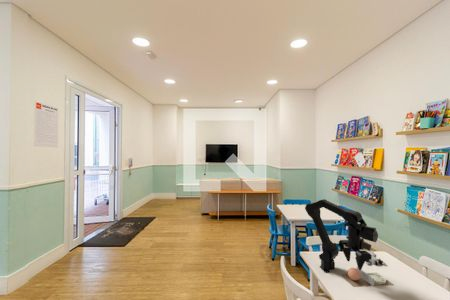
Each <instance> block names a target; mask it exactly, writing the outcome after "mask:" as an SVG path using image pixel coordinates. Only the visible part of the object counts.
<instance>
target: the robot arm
mask: <svg viewBox="0 0 450 300" xmlns="http://www.w3.org/2000/svg"><path fill="white" fill-rule="evenodd" d="M323 208H324V209H325V210H328V211H330V212H332V213H334V214H337V215H338V216H340V217H342V219H344V221H346V223H344V224H343V225H344V226H345V227H347V230H348V231H347V235H346V239H340V240H339V241H338V245H339V247H340V248H341V250H342V252H343V254H344V257H345V259H346V261H347V262H350V261H351V254H352V253H351V251H352V252H354V251H355V252H356V253H355V252H354V254H355V262H356V265H357V266H356V267H358V269H359V270H363V269H362V268H363V266H364V265H365V264H366V260H371V259H372V255H371V254H370V253H368V252H367V251H360V250H368V251H371V249H372V244H370V243H368V242H367V241H369V242H372V243H377V241H378V239H379V233H378V231H377V228H376V227H374V226H373V227H371V226H368V225H367V223H366V221H365V220H364V218H363V216H362V214H361V213H360V212H359V211H357V210H353V209H347V208H344V207H343V206H339V205H337V204H335V203H333V202H331V201H329V200H327V199H320V200H318V201H315V202H311V203H306V205H305V207H304V209H305V212H306V213H307V215H308V216H309V217H310V218H311V219H312V221H313V224H314V226H315V229H316V231H317V233H318V236H319V239H320V240H321V250H322V253H320V254H318V258H319V260H320V265H319V268H320V269H321V270H322V271H323V272H324V273H331V271H333V270H335V267H336V264H335V263H336V262H335V259H336V257H338V256H339V251H340V249H339V248H338V246H337V243H336V242H332V240H331V239H330V236H329V234H328V232H327V229H326V227H325V225H324V222H323V220H322V217H321V209H323ZM365 240H366V241H365Z"/></svg>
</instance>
